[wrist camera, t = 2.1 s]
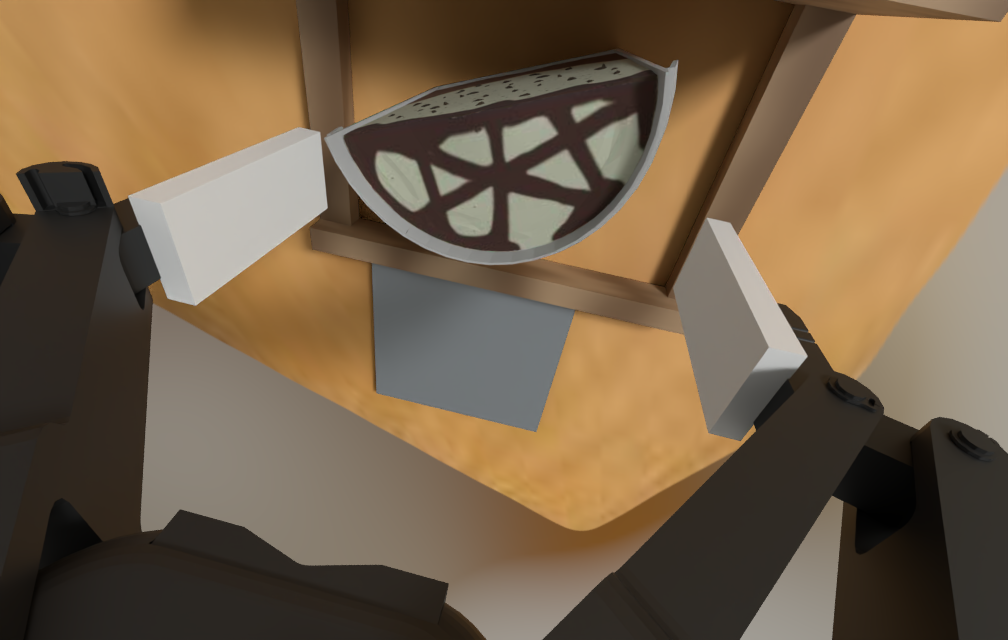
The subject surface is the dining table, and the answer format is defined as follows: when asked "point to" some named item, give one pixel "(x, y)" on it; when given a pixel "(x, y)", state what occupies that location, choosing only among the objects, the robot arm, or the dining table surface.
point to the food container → (511, 156)
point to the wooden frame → (744, 171)
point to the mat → (465, 347)
